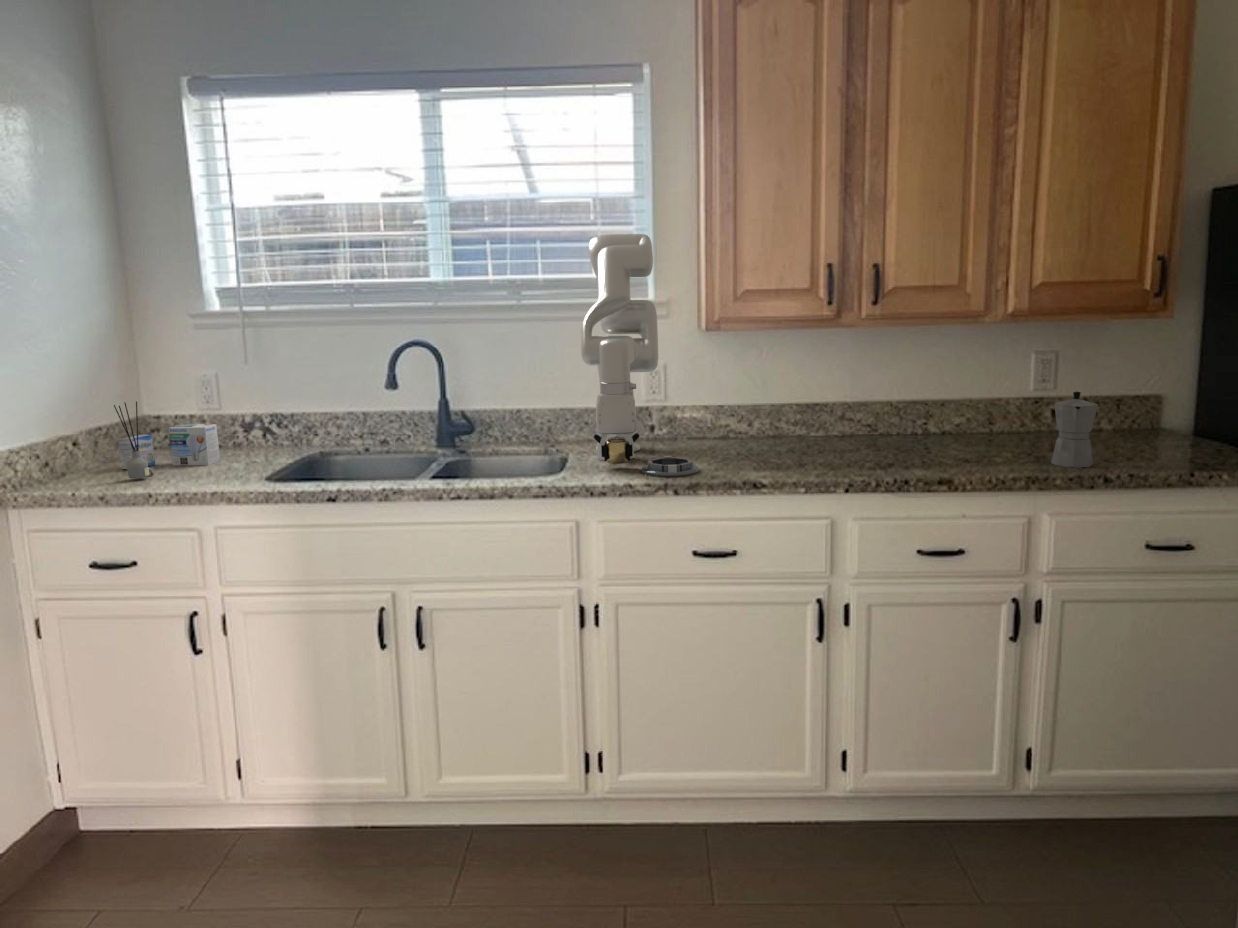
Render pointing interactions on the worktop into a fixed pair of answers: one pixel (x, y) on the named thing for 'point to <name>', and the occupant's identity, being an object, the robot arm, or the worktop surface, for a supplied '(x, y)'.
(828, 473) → the worktop surface
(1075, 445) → the coffeepot
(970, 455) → the worktop surface
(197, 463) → the light bulb box
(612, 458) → the brass lock cylinder
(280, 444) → the worktop surface
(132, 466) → the reed diffuser
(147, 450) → the medicine box
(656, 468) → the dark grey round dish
